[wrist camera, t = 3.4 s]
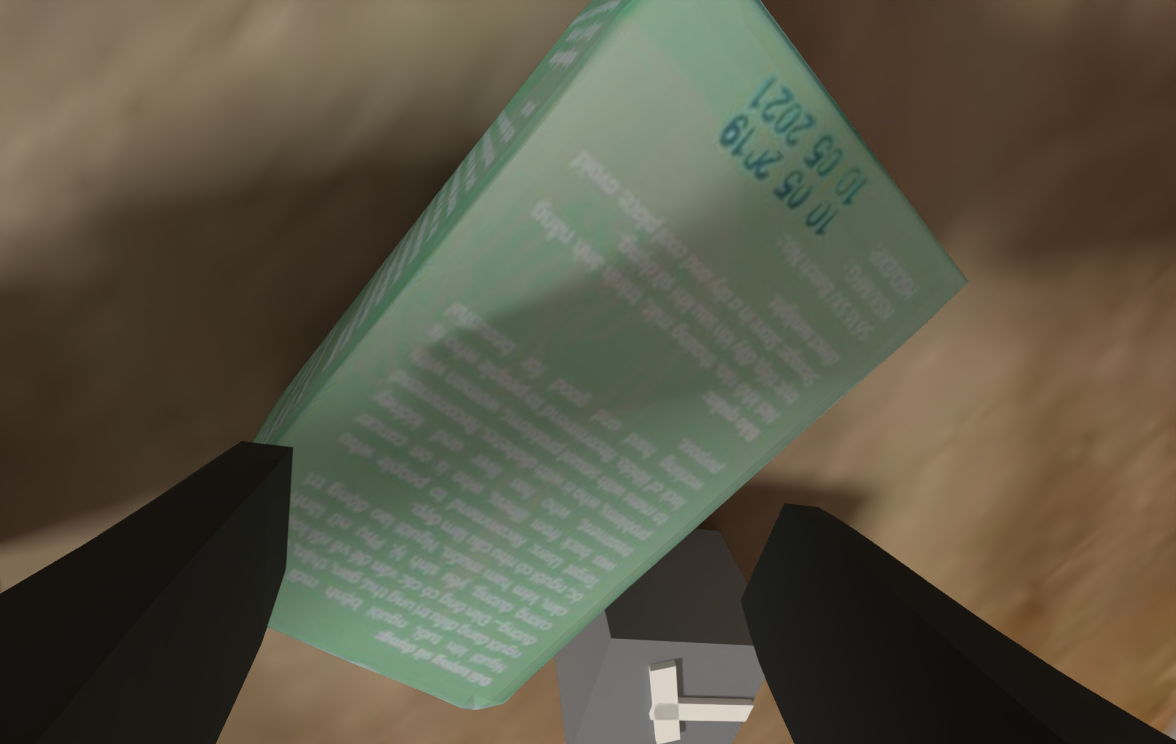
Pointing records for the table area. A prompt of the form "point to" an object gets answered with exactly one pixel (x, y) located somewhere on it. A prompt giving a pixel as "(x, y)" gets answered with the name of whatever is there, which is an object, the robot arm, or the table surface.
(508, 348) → the box
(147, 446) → the table surface
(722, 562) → the charcoal cube
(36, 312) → the table surface
